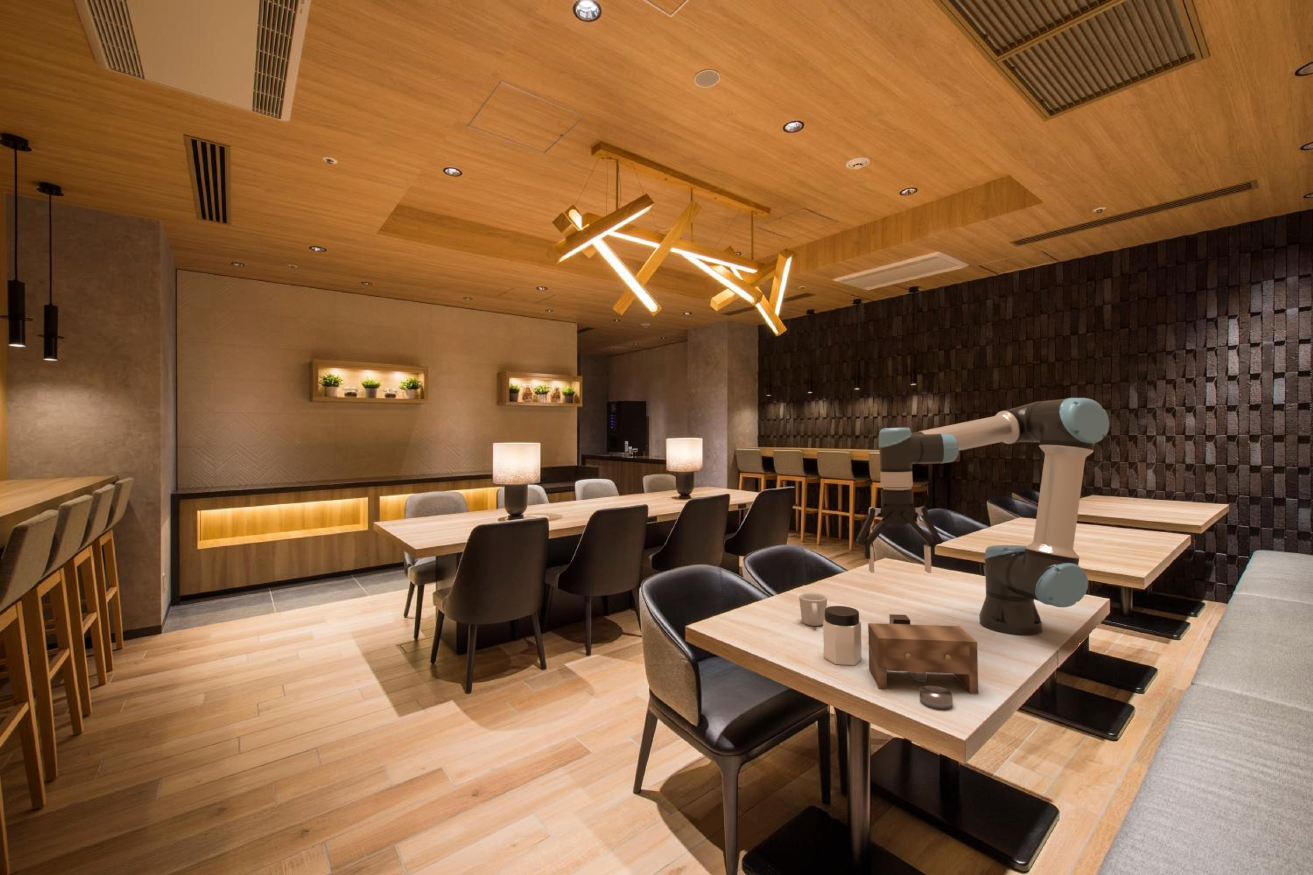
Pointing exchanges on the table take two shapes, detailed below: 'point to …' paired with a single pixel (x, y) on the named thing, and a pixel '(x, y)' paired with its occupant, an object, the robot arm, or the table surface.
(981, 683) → the table surface
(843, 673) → the table surface
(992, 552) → the robot arm
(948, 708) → the disc
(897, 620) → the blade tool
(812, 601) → the cup
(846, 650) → the jar
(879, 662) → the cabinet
